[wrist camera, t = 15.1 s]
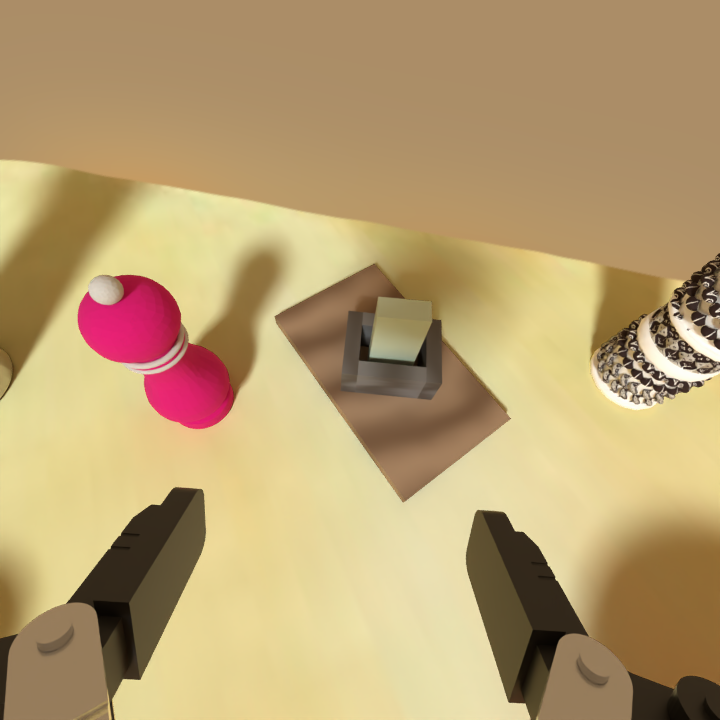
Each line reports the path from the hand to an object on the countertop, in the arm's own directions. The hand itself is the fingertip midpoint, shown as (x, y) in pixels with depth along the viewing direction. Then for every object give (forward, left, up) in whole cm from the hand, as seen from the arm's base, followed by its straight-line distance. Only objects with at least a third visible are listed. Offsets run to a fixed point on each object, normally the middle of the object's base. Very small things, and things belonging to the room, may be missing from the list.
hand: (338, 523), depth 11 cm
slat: (-11, +14, -25) cm, 31 cm away
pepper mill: (-19, -4, -27) cm, 33 cm away
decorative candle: (+5, +37, -27) cm, 46 cm away
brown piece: (-11, +14, -27) cm, 32 cm away
